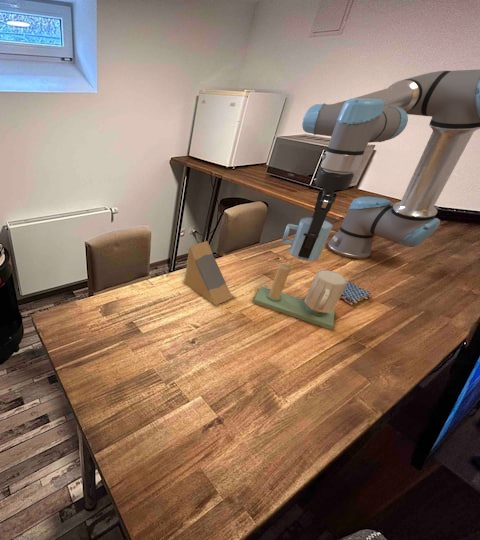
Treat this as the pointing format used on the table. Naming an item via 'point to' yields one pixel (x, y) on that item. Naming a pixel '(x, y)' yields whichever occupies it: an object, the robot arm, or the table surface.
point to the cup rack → (291, 302)
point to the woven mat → (354, 293)
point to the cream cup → (325, 290)
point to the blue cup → (300, 238)
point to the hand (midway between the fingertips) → (305, 250)
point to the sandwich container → (205, 274)
